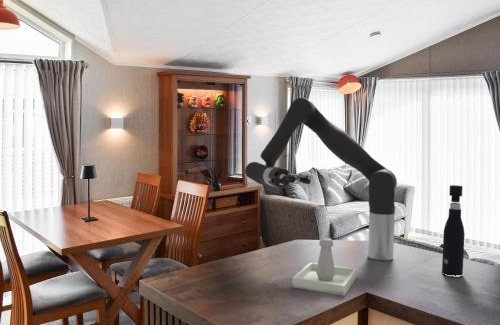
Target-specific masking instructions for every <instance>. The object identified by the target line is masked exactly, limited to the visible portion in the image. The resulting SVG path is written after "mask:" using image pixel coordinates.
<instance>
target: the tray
mask: <svg viewBox="0 0 500 325" xmlns="http://www.w3.org/2000/svg"><path fill="white" fill-rule="evenodd" d="M317 266H318V262H311V261H310V262H309V263H308V264H306V265H305V266H304V267H303V268H302V269H300V270H299V271H298V272H297V273H296V274H295V275H293V276H292V278H291V279H292V280H291V282H292V283H291V284H292V285H291V286H292V288H293V289H294V288H295V289H301V290H305V291H306V290H307V291H312V292H317V293H318V292H319V293H323V294H324V293H325V294H329V295H330V294H331V295H336V296H342V297H344V296H346V294H347V293H348V292H349V290H350V289H351V287H352V286H353V284H354V283H355V282H356V280H357V279H358V268H355V267H353V268H352V267H348V266H347V267H346V266H341V265H340V266H339V265H334V269H335V275H334V277H333V279H332V280H331V281H321V280H319V278H318V276H317V272H316V271H317Z"/></svg>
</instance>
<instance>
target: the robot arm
mask: <svg viewBox="0 0 500 325" xmlns="http://www.w3.org/2000/svg"><path fill="white" fill-rule="evenodd" d="M301 124H302V125H305V126H306V127H307V128H308V129H310V130H311V131H312V132H313V133H315V135H316V136H317V137H318V139H320V141H321V143H323V145H324V146H326V148H327V149H328V150H329V151H330V152H331V153H332V154H333V155H335V156H336V157H337V158H338V159H339V160H341V161H342V162H343V163H344V164H346V165H348V166H350V167H351V168H353V169H355V170H357V171H358V172H359V173H361V174H362V176H364V178H365V179H367V180H368V207H369V208H368V210H369V211H368V212H369V214H368V215H369V216H368V222H369V223H368V246H367V257H368V258H369V259H371V260H376V261H391V260H393V259H394V249H395V248H394V247H395V222H396V221H395V217H396V216H395V215H396V206H395V190H396V187H397V184H398V182H397V177H396V175H395V174H394V172H392V171H391V170H390V169H388V168H387V167H385V166H384V165H382V164H381V163H379V162H378V161H377V160H376V159H374V158H373V157H372V156H371V155H370V154H369V153H368V152H367V151H366V150H365V149H364V148H363V147H362V146H361V145H360V144H359V143H358V142H357V141H356V140H355V139H354V138H353V137H352V136H350V135H349V134H348V133H347V132H346V131H344V130H343V129H342V128H341V127H339V126H338V125H336V124H335V123H333V122H332V121H330V120H329V119H328V118H326V117H325V116H324V114H323V113H322V112H321V111H320V110H319V109H318V108H317V107H316V106H315V105H314V103H313V102H312V101H310V100H309V99H308V98H305V97H297V98H295V99H294V100H292V102H291V104H290V106H289V107H288V109H287V111H286V113H285V116H284V117H283V119H282V122H281V123H280V125H279V127H277V130H276V131H275V133H274V135H273V136H272V138H271V139H270V140H269V142H268V143H267V144H266V146H265V147H264V149H263V150H262V151H261V153H260V158H261V160H263V161H264V162H265V164H262V163H260V162H258V161H252V162H251V161H250V162H249V163H248V164H247V165H246V166H245V169H244V174H245V176H246V177H247V178H249V179H250V180H252V181H254V182H255V183H257V184H259V185H269V186H271V187H274V188H277V189H278V188H279V189H284V188H286V187H288V186H290V185H299V184H303V185H305V184H306V185H310V184H311V178H310V176H308V175H304V174H296V173H295V174H293V173H290V171H289V170H288V169H286V168H285V167H284V168H283V167H279V166H275V165H276V163H277V161H278V160H279V158H280V157H281V156H282V155H283V153H284V151H285V150H286V148H287V146H288V144H289V141H290V140H291V137H292V135H294V134H293V133H294V132H295V131H296V129H298V127H299V126H300V125H301Z"/></svg>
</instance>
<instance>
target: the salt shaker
mask: <svg viewBox="0 0 500 325" xmlns="http://www.w3.org/2000/svg"><path fill="white" fill-rule="evenodd" d="M318 245H319V246H320V251H319V256H318V261H317V263H318V266H317V271H316V272H317V276H318V278H319V280H321V281H331V280H332V279H333V277H334V275H335V269H334V266H335V263H334V258H333V252H332V247H334V240H333V239H332V238H331V237H330V238H329V237H322V238H320V239H319V244H318Z"/></svg>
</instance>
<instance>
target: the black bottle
mask: <svg viewBox="0 0 500 325" xmlns="http://www.w3.org/2000/svg"><path fill="white" fill-rule="evenodd" d="M449 196H451V200H450V201H451V202H450V204H449V209H448V217H447V220H446V222H445V224H444V228H443V240H442V259H441V260H442V264H441V265H442V267H441V274H442V273H444V274H447V275H455V276H456V275H462V274H463V275H464V255H465V251H464V250H465V228H464V223H463V220H462V209H461V208H462V206H461V203H460V202H461V201H460V200H461V199H460V198H461V197H462V196H463V186H462V185H458V184H457V185H455V184H451V185H449Z"/></svg>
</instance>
